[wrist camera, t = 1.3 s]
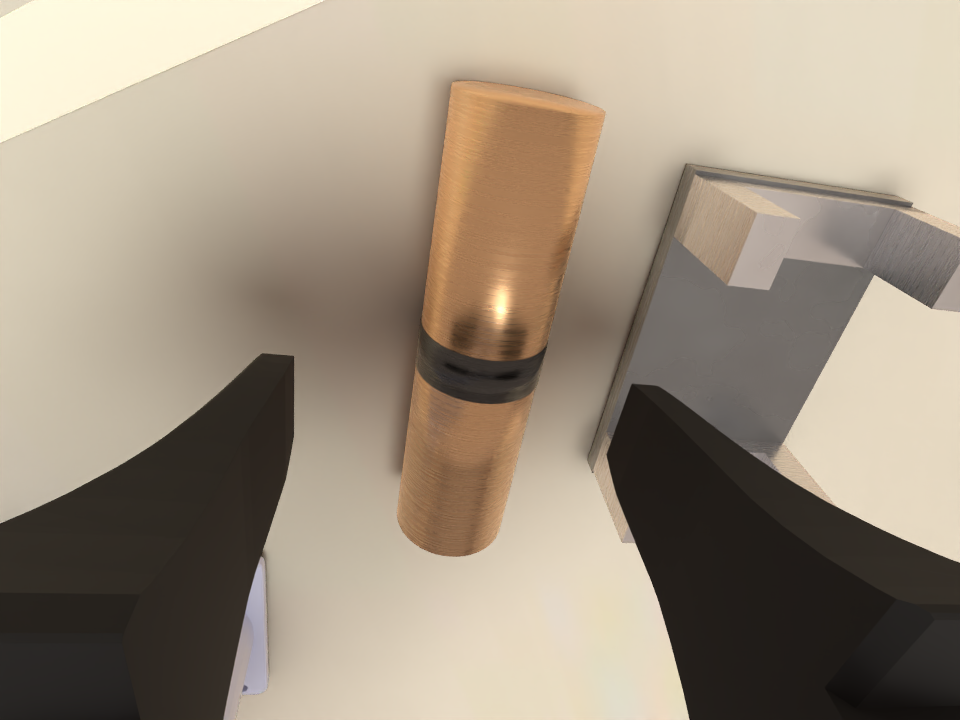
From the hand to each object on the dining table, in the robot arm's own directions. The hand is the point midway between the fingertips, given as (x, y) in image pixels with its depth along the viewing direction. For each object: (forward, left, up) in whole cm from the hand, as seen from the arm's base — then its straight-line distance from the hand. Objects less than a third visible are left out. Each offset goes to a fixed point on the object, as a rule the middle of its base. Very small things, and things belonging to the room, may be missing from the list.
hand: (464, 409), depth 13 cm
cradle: (+8, 0, -4) cm, 10 cm away
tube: (0, 0, -4) cm, 4 cm away
